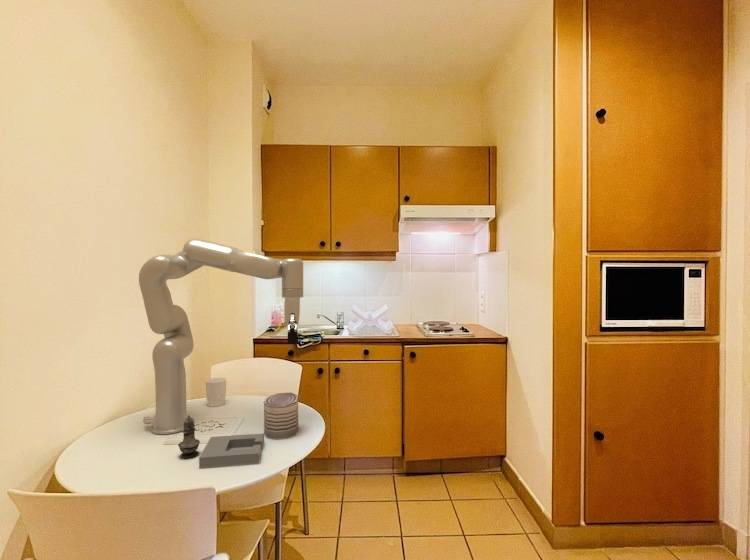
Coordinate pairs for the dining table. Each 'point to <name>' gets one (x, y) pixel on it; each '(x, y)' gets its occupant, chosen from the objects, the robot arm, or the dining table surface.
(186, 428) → the dark chess piece
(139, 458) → the dining table surface
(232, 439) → the plate
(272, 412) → the can
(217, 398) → the white cup
